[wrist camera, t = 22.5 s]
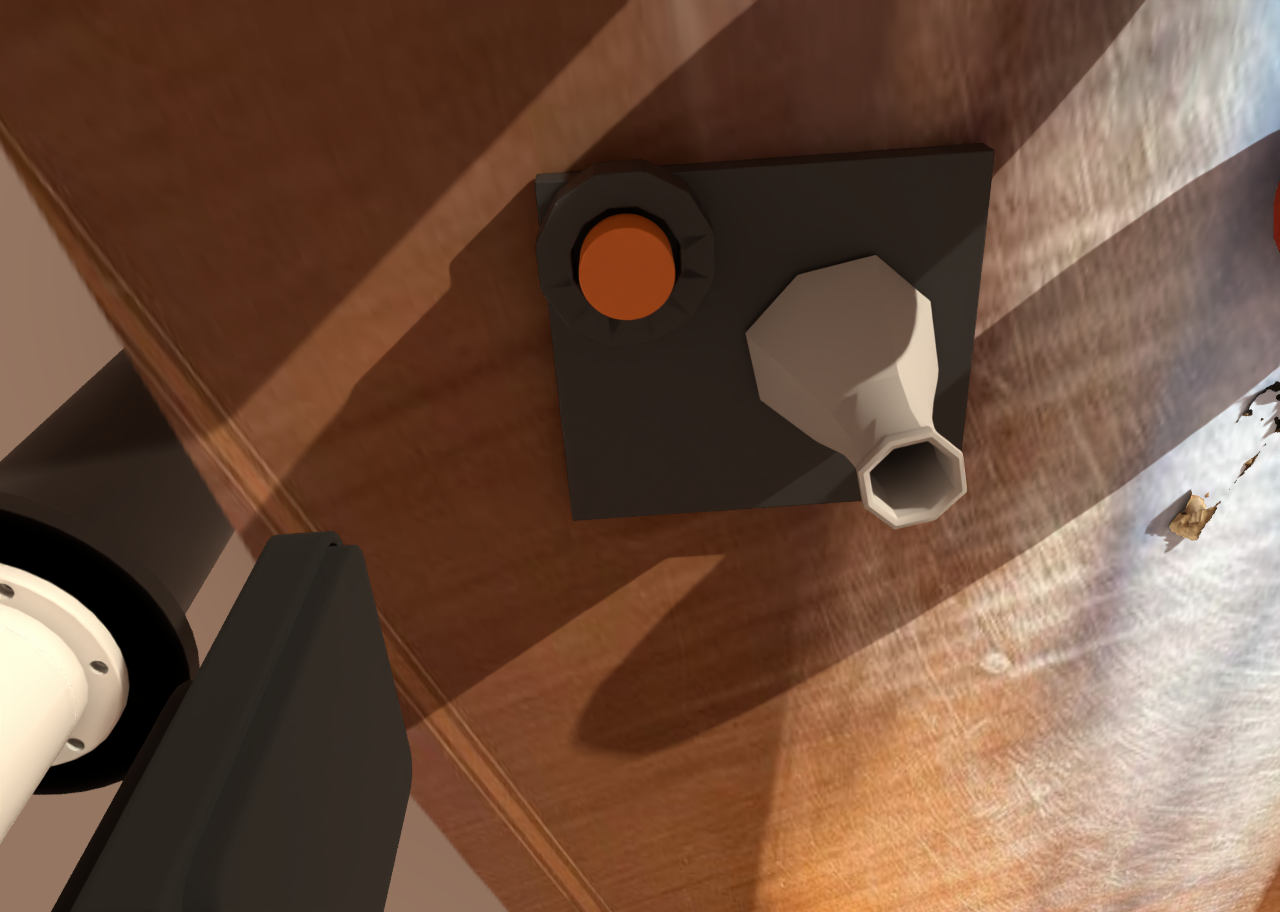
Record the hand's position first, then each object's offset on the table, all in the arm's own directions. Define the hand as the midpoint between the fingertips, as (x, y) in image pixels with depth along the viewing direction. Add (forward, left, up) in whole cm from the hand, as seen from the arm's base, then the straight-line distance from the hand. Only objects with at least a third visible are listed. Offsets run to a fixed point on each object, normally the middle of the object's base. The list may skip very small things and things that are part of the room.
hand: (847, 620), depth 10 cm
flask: (+6, -9, -27) cm, 29 cm away
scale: (+3, -9, -28) cm, 30 cm away
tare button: (-2, -5, -26) cm, 26 cm away
